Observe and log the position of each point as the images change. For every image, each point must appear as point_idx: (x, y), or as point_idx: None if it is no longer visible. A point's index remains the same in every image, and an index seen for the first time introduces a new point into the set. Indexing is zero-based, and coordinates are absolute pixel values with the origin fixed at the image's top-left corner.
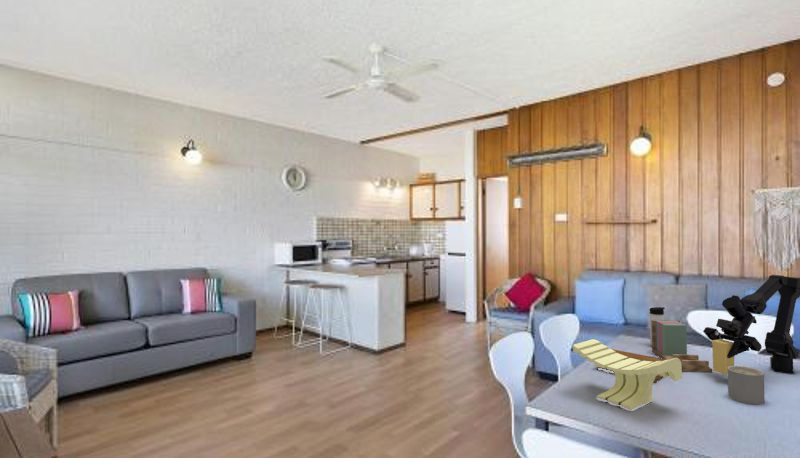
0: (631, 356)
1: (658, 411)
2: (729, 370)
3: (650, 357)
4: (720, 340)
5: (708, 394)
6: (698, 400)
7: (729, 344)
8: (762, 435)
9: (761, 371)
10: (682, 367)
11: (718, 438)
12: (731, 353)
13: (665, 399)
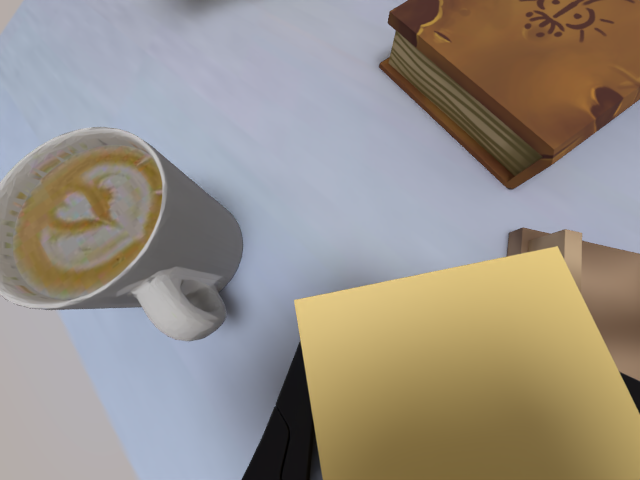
0: (612, 19)
1: None
2: (125, 132)
3: (601, 87)
4: (565, 433)
5: (255, 158)
6: (225, 99)
7: (319, 418)
8: (23, 97)
9: (9, 293)
10: (531, 240)
11: (60, 15)
12: (295, 362)
13: (256, 29)
